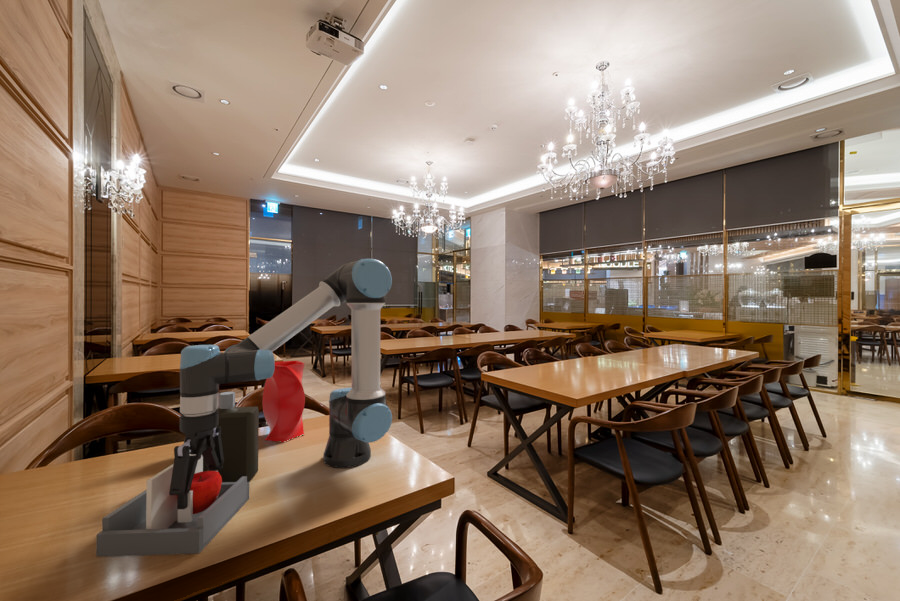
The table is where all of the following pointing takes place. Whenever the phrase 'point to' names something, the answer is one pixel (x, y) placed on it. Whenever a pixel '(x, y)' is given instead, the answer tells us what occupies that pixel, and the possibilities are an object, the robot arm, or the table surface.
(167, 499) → the plate
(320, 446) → the table surface
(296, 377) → the vase
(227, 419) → the bottle
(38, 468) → the table surface
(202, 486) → the apple
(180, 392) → the robot arm
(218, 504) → the grey tray
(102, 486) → the table surface
